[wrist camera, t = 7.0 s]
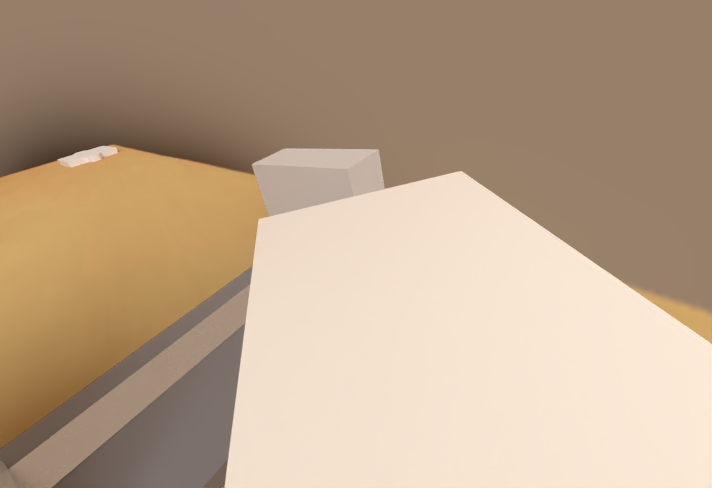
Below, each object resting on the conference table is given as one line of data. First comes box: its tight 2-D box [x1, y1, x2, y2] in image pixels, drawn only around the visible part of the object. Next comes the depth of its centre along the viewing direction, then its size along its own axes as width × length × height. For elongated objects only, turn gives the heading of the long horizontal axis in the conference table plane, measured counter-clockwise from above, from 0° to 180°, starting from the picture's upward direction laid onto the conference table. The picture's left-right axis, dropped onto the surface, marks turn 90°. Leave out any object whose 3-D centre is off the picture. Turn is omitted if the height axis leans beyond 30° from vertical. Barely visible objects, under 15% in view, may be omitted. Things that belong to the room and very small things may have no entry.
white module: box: [224, 171, 712, 488], centre depth 10 cm, size 6×9×12 cm, turn 11°
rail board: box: [0, 266, 253, 488], centre depth 25 cm, size 30×13×1 cm, turn 146°
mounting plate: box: [58, 146, 118, 168], centre depth 110 cm, size 18×13×2 cm
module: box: [252, 149, 385, 217], centre depth 31 cm, size 4×10×9 cm, turn 55°
